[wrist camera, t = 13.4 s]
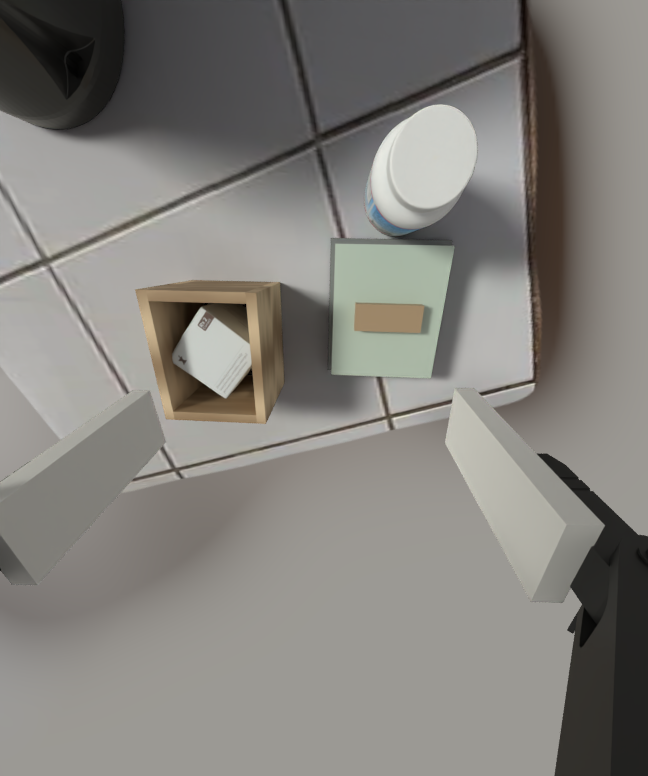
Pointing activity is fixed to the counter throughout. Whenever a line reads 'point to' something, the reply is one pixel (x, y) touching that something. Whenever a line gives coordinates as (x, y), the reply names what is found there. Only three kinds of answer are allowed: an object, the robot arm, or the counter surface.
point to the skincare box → (216, 347)
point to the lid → (388, 308)
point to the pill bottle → (420, 170)
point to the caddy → (171, 319)
